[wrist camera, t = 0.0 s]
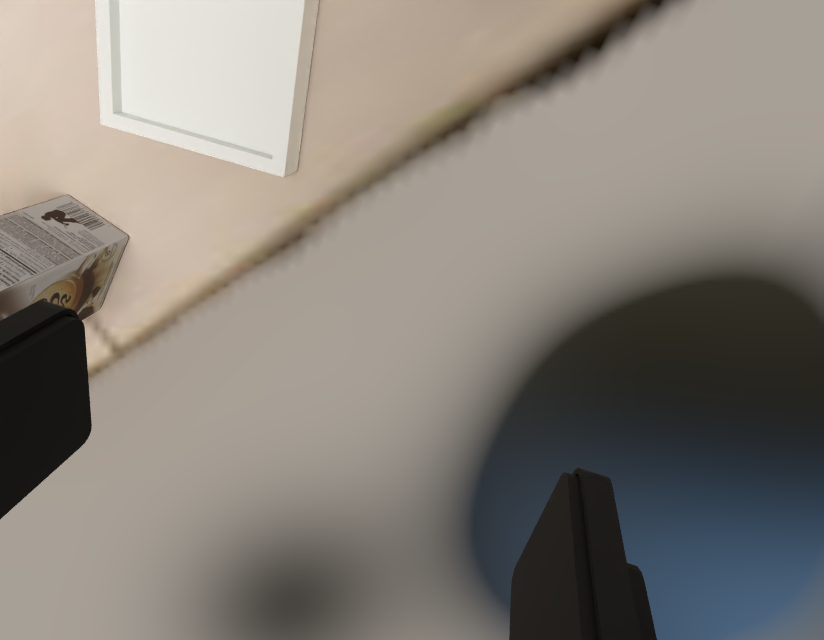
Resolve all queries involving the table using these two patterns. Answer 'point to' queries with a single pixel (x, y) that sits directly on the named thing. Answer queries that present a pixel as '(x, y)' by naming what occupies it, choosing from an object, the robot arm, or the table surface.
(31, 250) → the coffee box
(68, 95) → the table surface
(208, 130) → the tray
